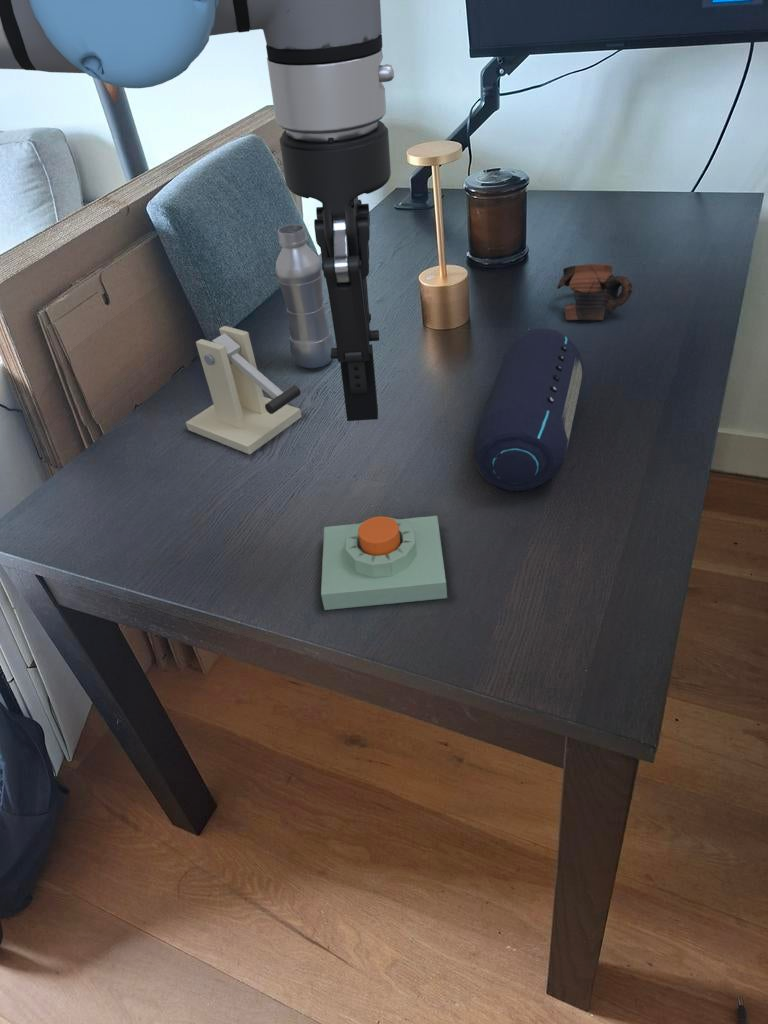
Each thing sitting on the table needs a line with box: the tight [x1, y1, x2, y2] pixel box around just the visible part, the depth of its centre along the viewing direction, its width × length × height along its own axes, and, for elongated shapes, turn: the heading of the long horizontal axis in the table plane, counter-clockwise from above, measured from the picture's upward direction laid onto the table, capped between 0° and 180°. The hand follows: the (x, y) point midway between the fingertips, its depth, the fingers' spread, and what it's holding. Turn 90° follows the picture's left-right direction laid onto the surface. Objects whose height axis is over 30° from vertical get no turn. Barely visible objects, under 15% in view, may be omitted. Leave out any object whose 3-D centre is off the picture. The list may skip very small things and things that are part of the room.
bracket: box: [185, 325, 303, 455], centre depth 98 cm, size 12×10×13 cm
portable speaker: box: [474, 327, 585, 492], centre depth 89 cm, size 25×10×10 cm, turn 163°
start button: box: [358, 516, 400, 556], centre depth 75 cm, size 4×4×2 cm
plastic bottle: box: [274, 223, 336, 369], centre depth 107 cm, size 6×7×20 cm
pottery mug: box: [556, 263, 634, 321], centre depth 115 cm, size 12×10×8 cm
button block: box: [320, 515, 448, 611], centre depth 76 cm, size 12×10×4 cm
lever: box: [211, 333, 301, 414], centre depth 95 cm, size 12×5×2 cm, turn 52°
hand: (362, 415), depth 67 cm, fingers closed
